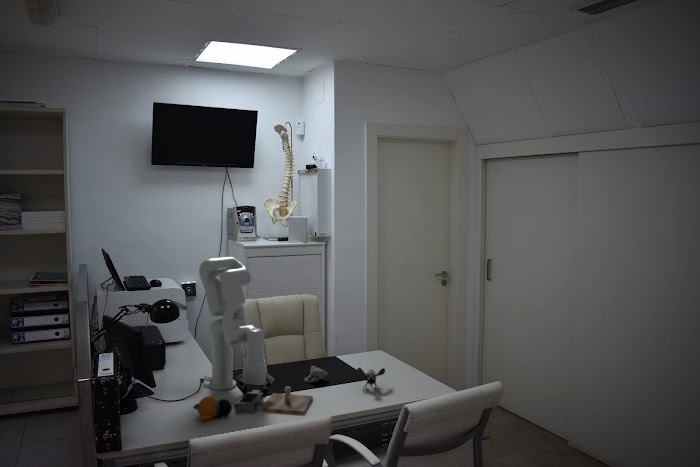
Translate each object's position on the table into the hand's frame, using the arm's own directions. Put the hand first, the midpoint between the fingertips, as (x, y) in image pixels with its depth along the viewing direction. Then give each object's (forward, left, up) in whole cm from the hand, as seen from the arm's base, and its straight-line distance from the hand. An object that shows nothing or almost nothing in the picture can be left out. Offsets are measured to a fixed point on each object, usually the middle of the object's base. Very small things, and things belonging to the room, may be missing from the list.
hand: (255, 396), depth 249 cm
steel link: (0, -6, -2) cm, 6 cm away
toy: (-12, -22, -2) cm, 25 cm away
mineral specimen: (+21, +30, -2) cm, 36 cm away
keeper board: (+15, -3, -2) cm, 16 cm away
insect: (+48, +22, -2) cm, 53 cm away
